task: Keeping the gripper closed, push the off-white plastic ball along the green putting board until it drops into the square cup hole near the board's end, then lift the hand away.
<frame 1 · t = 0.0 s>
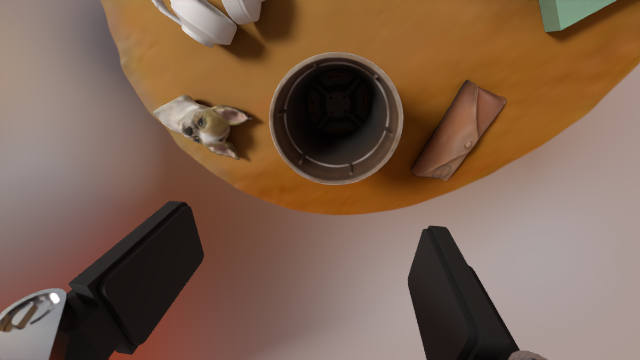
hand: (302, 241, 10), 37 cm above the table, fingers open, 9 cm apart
plant pot: (339, 102, 43), on the table
sunglasses case: (453, 135, 44), on the table
ceramic sculpture: (215, 120, 47), on the table
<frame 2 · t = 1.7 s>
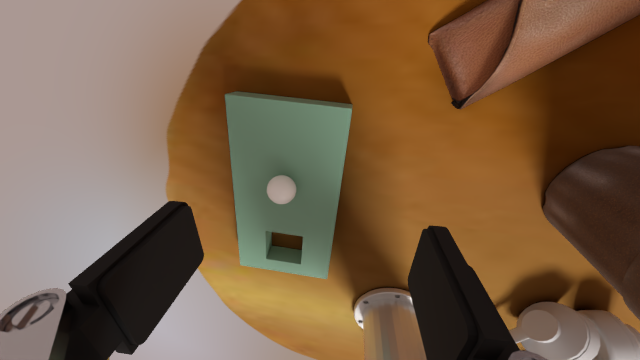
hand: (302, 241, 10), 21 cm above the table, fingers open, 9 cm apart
plant pot: (595, 191, 29), on the table
sunglasses case: (528, 19, 23), on the table
green board: (290, 191, 34), on the table
ball: (281, 189, 28), point 5 cm above the table, touching green board
headphones: (540, 329, 41), on the table
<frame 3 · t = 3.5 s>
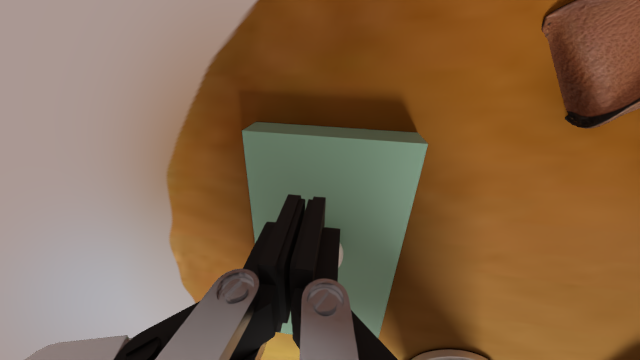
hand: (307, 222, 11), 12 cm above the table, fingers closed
green board: (326, 242, 26), on the table
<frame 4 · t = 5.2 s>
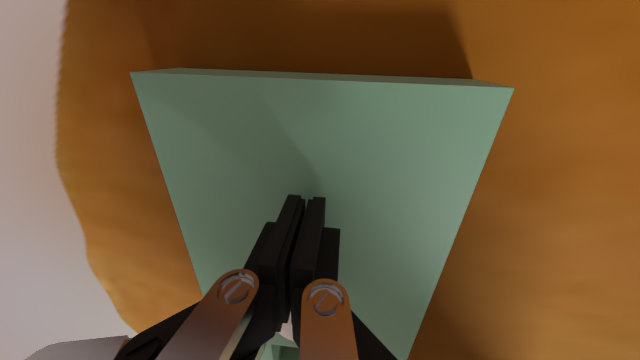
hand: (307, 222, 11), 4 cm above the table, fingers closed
green board: (314, 266, 17), on the table
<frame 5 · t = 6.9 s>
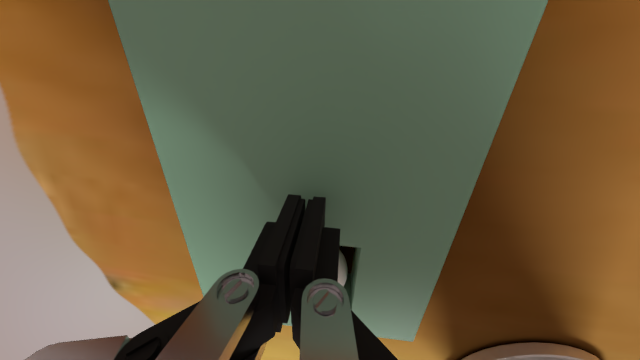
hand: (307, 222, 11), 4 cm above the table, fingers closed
green board: (317, 128, 12), on the table
ball: (320, 269, 15), point 2 cm above the table, tilted 53°
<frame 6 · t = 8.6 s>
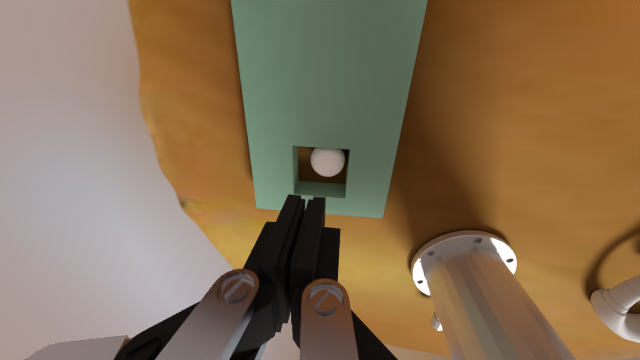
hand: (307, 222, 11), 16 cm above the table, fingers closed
green board: (325, 83, 22), on the table
ball: (327, 159, 24), point 2 cm above the table
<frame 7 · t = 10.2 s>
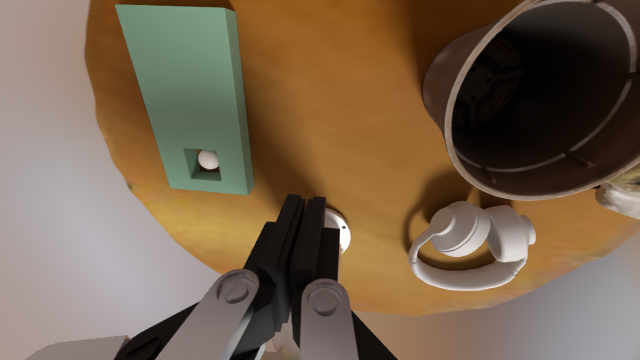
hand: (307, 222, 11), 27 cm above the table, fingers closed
plant pot: (467, 83, 31), on the table
green board: (203, 111, 37), on the table
ceramic sculpture: (608, 157, 34), on the table
ball: (210, 158, 39), point 2 cm above the table, tilted 9°
headphones: (458, 237, 43), on the table
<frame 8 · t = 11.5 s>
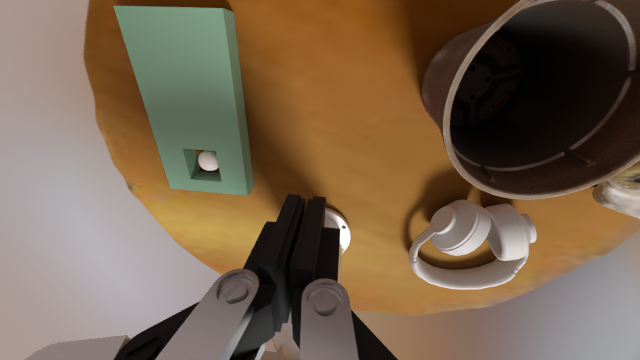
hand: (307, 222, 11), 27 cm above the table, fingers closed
plant pot: (466, 82, 31), on the table
green board: (202, 111, 37), on the table
ceramic sculpture: (606, 155, 34), on the table
ball: (209, 160, 39), point 2 cm above the table, tilted 16°
headphones: (459, 236, 43), on the table
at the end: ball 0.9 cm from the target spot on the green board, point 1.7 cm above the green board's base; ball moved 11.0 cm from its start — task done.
